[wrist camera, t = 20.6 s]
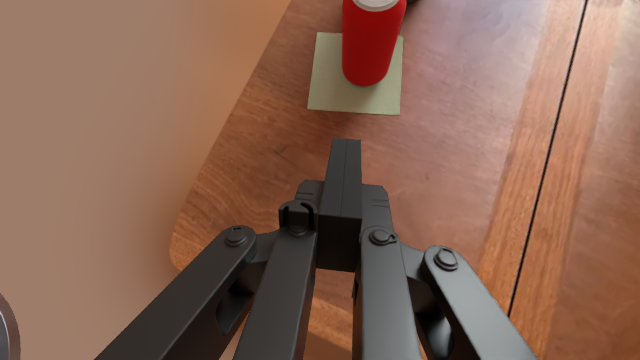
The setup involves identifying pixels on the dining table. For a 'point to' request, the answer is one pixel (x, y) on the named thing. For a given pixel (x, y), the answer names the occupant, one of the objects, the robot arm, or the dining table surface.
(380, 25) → the beverage can
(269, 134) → the dining table surface
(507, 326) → the robot arm
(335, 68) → the felt mat
